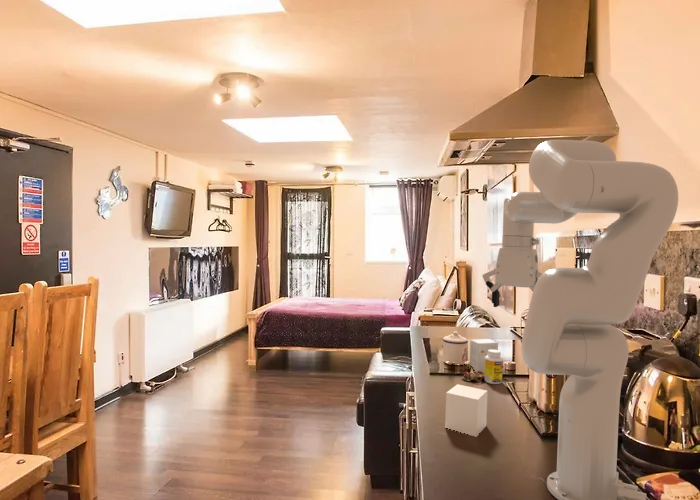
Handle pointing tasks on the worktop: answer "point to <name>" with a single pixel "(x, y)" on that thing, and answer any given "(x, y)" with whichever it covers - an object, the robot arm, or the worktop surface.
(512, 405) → the worktop surface
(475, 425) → the cream matte cube
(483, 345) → the small box
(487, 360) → the supplement bottle
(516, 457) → the worktop surface
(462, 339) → the teacup with lid
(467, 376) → the pastry
